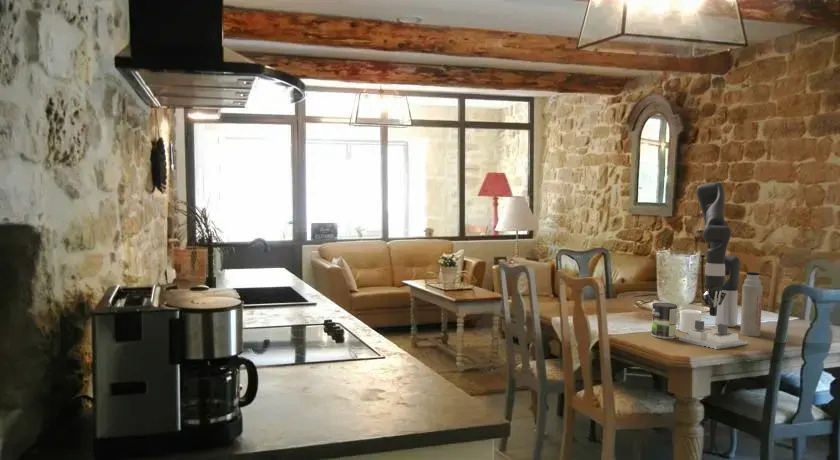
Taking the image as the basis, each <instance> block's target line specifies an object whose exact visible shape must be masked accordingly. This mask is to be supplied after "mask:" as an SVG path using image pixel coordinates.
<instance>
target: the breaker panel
mask: <svg viewBox="0 0 840 460" xmlns="http://www.w3.org/2000/svg"><path fill="white" fill-rule="evenodd" d="M678 338H679V339H678V340H679V341H681V342H685V343H688V344H692V345H696V346H700V345H701V347H704V346H706V347H705V348H708V347H710V348H709V349H712V348H714V349H713V350H716V349H717V350H721V348H722V349H726V348H732V347H733V348H735V347H739V346H744V345H747V344H748V341H747V340H746V339H741V338H739V333H735V332H731V331H727V333H725V334H724V333H719V332H718V328H713V327H708V326H704V330H698V329H689V330H688V333H687V335H682V336H679V337H678Z"/></svg>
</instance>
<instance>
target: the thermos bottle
mask: <svg viewBox="0 0 840 460" xmlns="http://www.w3.org/2000/svg"><path fill="white" fill-rule="evenodd" d="M743 282H744V283H743V284H742V291H741V293H742V294H741V310H740V311H741V315H740V317H741V318H740V335H741V336H742V335H743V336H746V337H760V336H761V326H762V323H761V322H762V308H763V307H762V304H763V301H762V300H763V285H762V280H761V279H760V273H759V272H754V271H749V272H746V278H745V279H744V281H743Z"/></svg>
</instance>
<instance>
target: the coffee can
mask: <svg viewBox="0 0 840 460" xmlns="http://www.w3.org/2000/svg"><path fill="white" fill-rule="evenodd" d="M651 306H652V314H651V333H650V334H651V336H652V337H654V338H659V339H668V340H669V339H675V338H676V337H677V336H676V333H677V327H676V325H677V316H678V314H677V312H678V305H677V304H675V303H672V302H658V301H657V302H653V303H652V305H651Z"/></svg>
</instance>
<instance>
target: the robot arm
mask: <svg viewBox="0 0 840 460" xmlns="http://www.w3.org/2000/svg"><path fill="white" fill-rule="evenodd" d="M696 196H697V200H698V203H699V206H700V209H701V212H702V216H703V221H704V225H705V227H704V229H703V230H702V238H703V240H704V241H705V242H706V243H709V245H710V248H708V249H707V250H706V258H705V259H706V261H705V270H704V285H705V286H706V288H705V292H704V293H702V294H701V296H702V299H703V302H704V303H705V305H706V306H708V307H709V316H711V317H715V318H714V324H715V325H716V326H718V324H720V323H722V324H727V325H728V328H730V327H731V328H734V327H736V326H738V317H739V316H738V315H739V314H738V313H739V311H738V310H739V305H738V291H739V290H738V289H739V281H740V270H741V269H740V268H741V260H740V258H739V257H738V256H732V255H726V253H727V248H728V245H729V242H730V240H731V236H732V230H731V228H730V227H729V226H728V223H727V221H726V220H725V215H724V210H725V202H726V201H725V199H726V198H725V190H724V186H723V184H722V183H721V182H719V181H715V182H709V183H703V184H699V185H698V186H697V187H696ZM726 276H729V277H728V279H727V280H726Z"/></svg>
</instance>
